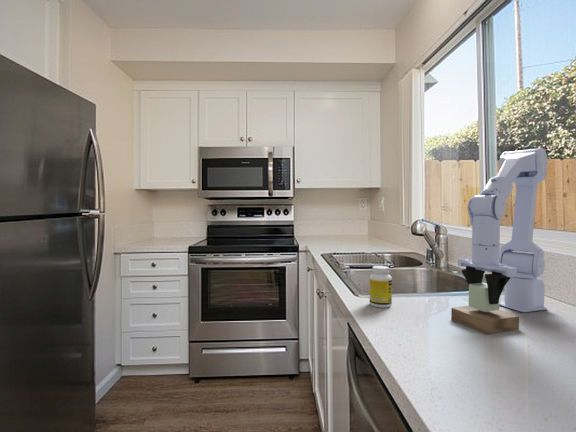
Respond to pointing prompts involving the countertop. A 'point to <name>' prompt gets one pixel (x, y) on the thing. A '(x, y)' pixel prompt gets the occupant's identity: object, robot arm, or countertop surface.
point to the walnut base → (485, 319)
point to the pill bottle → (380, 287)
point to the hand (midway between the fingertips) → (484, 300)
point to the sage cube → (480, 297)
